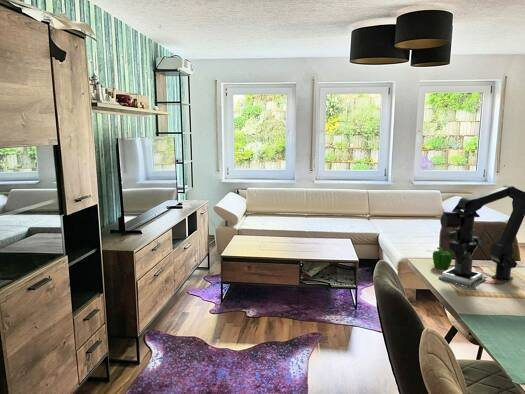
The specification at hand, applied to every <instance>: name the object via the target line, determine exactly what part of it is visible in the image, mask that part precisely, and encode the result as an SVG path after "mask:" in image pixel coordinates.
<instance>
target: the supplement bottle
mask: <svg viewBox="0 0 525 394" xmlns="http://www.w3.org/2000/svg"><path fill="white" fill-rule="evenodd" d="M470 256H471V251H469V250H467V251H466V254H465V256H464V258H463V260H462V262H461V264H458V263H457V260H456V256H455V258H454V266H453V267H454V275H457V276H460V277H464V278H468V279H470V278H471V273H472V271H473V258H472V256H471V257H470Z"/></svg>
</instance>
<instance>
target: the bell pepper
mask: <svg viewBox="0 0 525 394" xmlns="http://www.w3.org/2000/svg"><path fill="white" fill-rule="evenodd" d="M436 248H437V249H436V250H433V252H432V261H433V265H434V267H435V268H436V269H442V270H449V269H450V268H451V267H450V266H451V263H452V260H453V255H452V253H450V252H449V251H448V250H445V251H444V249H443V248H442V247H436Z"/></svg>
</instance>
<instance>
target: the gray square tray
mask: <svg viewBox="0 0 525 394" xmlns="http://www.w3.org/2000/svg"><path fill="white" fill-rule="evenodd" d="M454 267H455V266H453V267H450V268H448V269H445V271H443V272H441V273H442V274H441V275H440V276H438V280H441V281H445V282H448V283H451V282H453V283H452V284H455V283H457V284H456V285H458V284H460V285H459V286H462V285H463V286H462V287H465V286H467V287H466V288H469V287H473V288H474V286H475V285H476V286H478V285H479V283H480V282H481V283H483V282H485V281H486V280H487V279H486V277H484V276H483V274H484V273H482V272H478V271H475V270H472V273H471V278H470V279H468V278H464V277H460V276H457V275H454ZM484 280H485V281H484ZM482 281H483V282H482ZM481 283H480V284H481ZM477 284H478V285H477ZM476 286H475V287H476Z"/></svg>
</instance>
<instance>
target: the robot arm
mask: <svg viewBox="0 0 525 394" xmlns="http://www.w3.org/2000/svg"><path fill="white" fill-rule="evenodd" d="M506 197H507V198H510V199H512V202H511V205H512V211H511V213H510V216H509V218H508V221H507V223H506V225H505V228H504V230H503V233H502V234H501V237H500V238H499V240H498V241H497V242H492V243H491V247H490V248H489V250H488V251H489V255H490V258H491V260H492V262H493V263H494V264H495V274H493V275H492V276H491V277H492V278H493V279H496V280H500V281H503V282H509V281H511V280H512V279H514V277H513V276H511V273H512V269H515V268H517V265H518V263H517V261H516V260H515V259H514V258H513V255H514V247H513V244H514V242H515V239H516V237H517V235H518V232H519V230H520V228H521V226H522V223H523V221H524V219H525V191H523V190H521V189H519V188H516V187H515V186H513V185H509V184H508V185H507V184H505V185H503V186H502V187H499V188H495V189H493V190H490V191H487V192H484V193H481V194H479V195H469V196H464V197H463V196H462V197H461V198H460V199H459V201H458V203H457V205H456V206H455V207H454V208H453V209H452V211H443V214H442V215H441V217H440V225H441V227H442V228H444V229H446V228H447V229H450V228H456V230H454V231H450V230H449V231H448V230H447V231H445V232H444V233H443V239H444V240H445V241H446V242H448V241H451V240H453V241H451V242H449V243H448V245H447V248H448V250H451V251H452V252H453V253H454V255H455V257H456V260H457V263H458V264H461V262H462V260H463V258H464V256H465V254H466V251H467V250H469V251H471V256H470V257H471V258H472V256H473V255H474V253H475V252H476V250H477V249H478V247H479V246H480V245H481V243H482V239H481V237H480V236H475V235H474V233H476V229H475V227H474V226H475V218H480V217H481V216H480V214H479V213H478V211H479V210H481V209H482V208H483V207H484V206H485V205H488V204H490V203H493V202H497V201H499V200H502V199H505V198H506Z"/></svg>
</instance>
